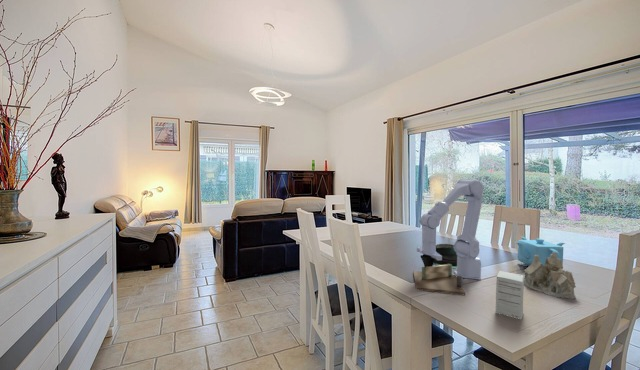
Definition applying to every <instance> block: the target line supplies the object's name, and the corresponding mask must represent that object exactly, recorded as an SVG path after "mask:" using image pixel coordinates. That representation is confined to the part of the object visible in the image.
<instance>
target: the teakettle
mask: <svg viewBox="0 0 640 370" xmlns="http://www.w3.org/2000/svg"><path fill="white" fill-rule="evenodd" d="M520 238H521V239H518V240H517V241H514V243H515V244H517V261H519V262H521V263H523V264H522V266H523V265H524V267H527V266H530V265H531V264H532V263H533V258H534V255H538V256H539V260H540V263H541V264H543V266H545V261H546V259H547V257H550V255H551V254H552V252H556V256H557V258H558V259H561V261H562V264H564V263H563V262H564V246H563V245H565V244H566V242H558V243H557V244H556V243H555V244H554V243H551V242H548V241H545V239H543V238H535V239H527V238H526V237H524V236H520Z"/></svg>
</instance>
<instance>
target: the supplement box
mask: <svg viewBox="0 0 640 370" xmlns="http://www.w3.org/2000/svg"><path fill="white" fill-rule="evenodd" d="M524 277H525V275H522V274H519V273H514V272H513V273H512V272H508V271H503V270H499V271H498V273H497V275H496V287H495V288H496V289H495V313H496V312H497V313H496V314H498V313H500V314H499V315H502V314H504V315H503V316H505V315H508V316H507V317H509V316H512V317H511V318H513V317H515V318H514V319H517V318H519V319H518V320H522V319H523V314H524V313H523V312H524V293H525V292H524V290H525V289H524V286H525V285H524Z"/></svg>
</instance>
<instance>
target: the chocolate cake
mask: <svg viewBox="0 0 640 370" xmlns="http://www.w3.org/2000/svg"><path fill="white" fill-rule="evenodd" d="M436 252H437V253H438V254H440V255H441V256H442V260H439V261H438V260H437V259H436V260H435V262H434V264H433V266H437V265H446V264H451V265H452V269H457V254H456V252H455V250H454V244H452V243H439V244H436Z"/></svg>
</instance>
